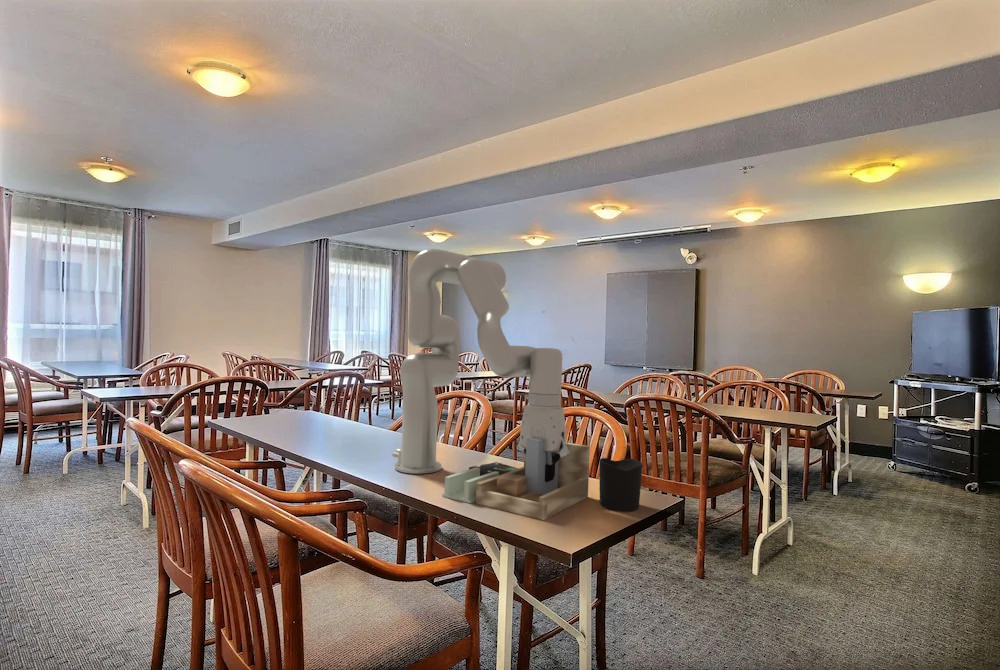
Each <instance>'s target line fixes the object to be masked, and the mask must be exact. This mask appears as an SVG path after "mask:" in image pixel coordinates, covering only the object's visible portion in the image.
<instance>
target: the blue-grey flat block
mask: <svg viewBox="0 0 1000 670" xmlns="http://www.w3.org/2000/svg"><path fill="white" fill-rule="evenodd" d="M557 453H559V450H557ZM558 463H559V460H558V461H557V463H555V477H554V479H553V480H551V481H549V482H545V466H546V464H547V452H545V451H543V439H537V438H528V439H527V441H526V468H525V476H527V482H526V490H527V493H529V492H534V493H539V494H543V495H545V494H547V493H550V492H552V491H554V490H556V489H558Z"/></svg>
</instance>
